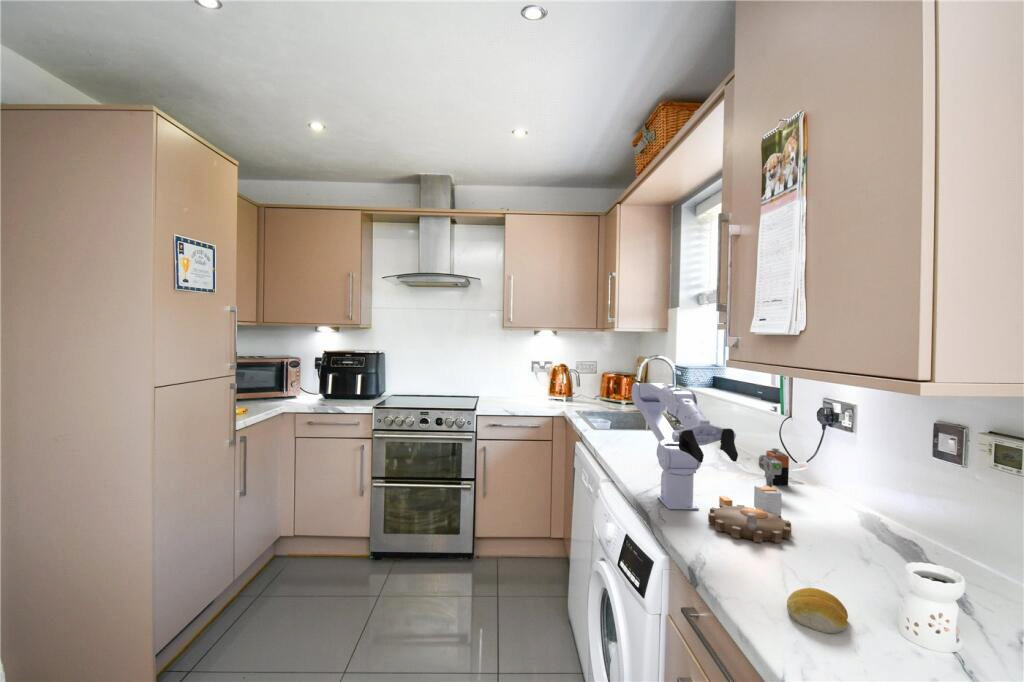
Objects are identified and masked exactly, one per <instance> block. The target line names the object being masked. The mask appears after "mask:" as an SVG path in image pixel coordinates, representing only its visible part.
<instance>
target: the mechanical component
mask: <svg viewBox="0 0 1024 682" xmlns="http://www.w3.org/2000/svg"><path fill="white" fill-rule="evenodd" d="M758 466H759V468H760V469H761V470H762V471H764V478H765V479H766V482H765V483H766V484H765V486H769V487H773V484H772V483H773V478H775V477H774V475H781V469H782V463H781V462H780V461H778V460H776V459H775V458H771V457H768V456H766V454H761V455H760V456H759V457H758Z"/></svg>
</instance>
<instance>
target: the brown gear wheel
mask: <svg viewBox="0 0 1024 682" xmlns="http://www.w3.org/2000/svg"><path fill="white" fill-rule="evenodd" d="M707 517H708V523H709V524H710V525H714V529H715V530H716V531H719V532H725V533H727V534H730V535H731V537H733V538H736V539H740V538H744V539H750V540H752V541H753V542H755V543H763V541H772V542H774V544H775V543H782V539H783V538H785V539H788V540H790V539H791V538H792V522H791V521H790V520H784V519H782V514H781V515H778V514H776V513H775V514H771V513H768V512H765V511H764V509H761V508H756V509H754V507H753V508H752V507H745V505H744V504H742V505H741V504H736V506H735V505H734V506H733V505H732V506H727V505H720V508H719V507H718V508H717V507H712V506H711V508H710V509H709V512H708V515H707Z"/></svg>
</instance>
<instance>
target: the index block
mask: <svg viewBox="0 0 1024 682" xmlns="http://www.w3.org/2000/svg"><path fill="white" fill-rule="evenodd" d="M718 498H719V499H718V508H719V507H720V505H727V506H733V499H731V498H730V497H729V496H725V495H724V496H721V495H720V496H719V497H718Z"/></svg>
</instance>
